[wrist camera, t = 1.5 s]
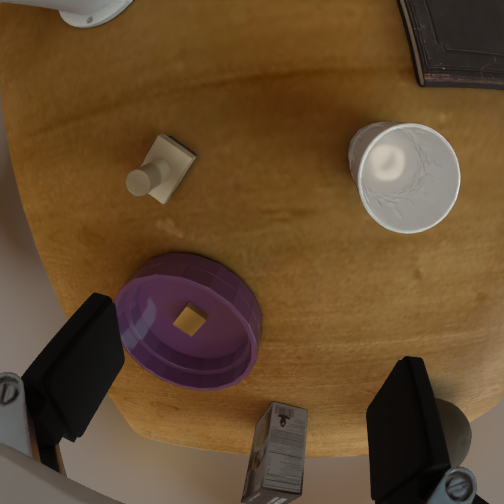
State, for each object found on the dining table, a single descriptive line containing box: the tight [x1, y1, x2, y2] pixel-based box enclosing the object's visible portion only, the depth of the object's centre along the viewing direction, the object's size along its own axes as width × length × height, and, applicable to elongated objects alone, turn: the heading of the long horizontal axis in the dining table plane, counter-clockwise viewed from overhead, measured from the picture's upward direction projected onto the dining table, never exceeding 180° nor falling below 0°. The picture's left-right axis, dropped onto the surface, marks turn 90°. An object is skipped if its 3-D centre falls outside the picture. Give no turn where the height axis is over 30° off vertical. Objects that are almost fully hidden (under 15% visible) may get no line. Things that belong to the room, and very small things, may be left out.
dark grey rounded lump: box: [435, 398, 472, 468], centre depth 36 cm, size 14×14×15 cm
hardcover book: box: [397, 0, 504, 90], centre depth 17 cm, size 16×23×2 cm
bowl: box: [114, 253, 262, 391], centre depth 38 cm, size 18×18×6 cm
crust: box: [173, 301, 209, 337], centre depth 39 cm, size 3×4×1 cm
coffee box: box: [241, 402, 307, 504], centre depth 41 cm, size 9×6×16 cm
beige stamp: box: [126, 134, 197, 204], centre depth 28 cm, size 6×4×8 cm
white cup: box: [347, 122, 460, 233], centre depth 23 cm, size 8×8×10 cm
